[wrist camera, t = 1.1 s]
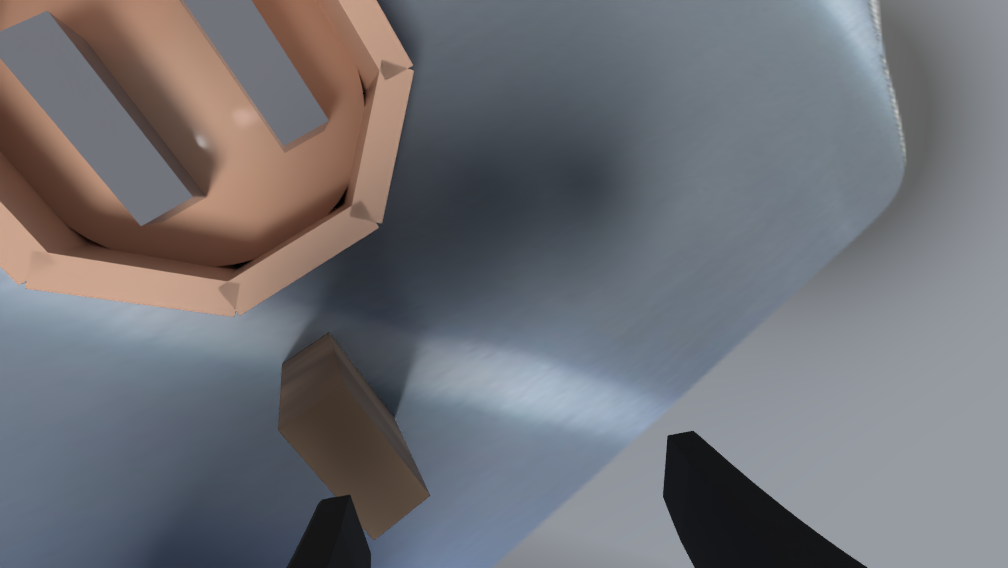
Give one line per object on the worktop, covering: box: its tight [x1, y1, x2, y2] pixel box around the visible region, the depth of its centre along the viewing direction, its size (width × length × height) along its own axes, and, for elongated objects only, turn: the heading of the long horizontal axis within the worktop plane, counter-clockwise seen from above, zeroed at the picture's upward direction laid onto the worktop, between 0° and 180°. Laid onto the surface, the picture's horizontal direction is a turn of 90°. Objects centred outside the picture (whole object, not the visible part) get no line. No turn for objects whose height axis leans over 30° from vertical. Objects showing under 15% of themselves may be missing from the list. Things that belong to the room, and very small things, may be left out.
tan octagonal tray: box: [0, 0, 414, 317], centre depth 15 cm, size 12×12×4 cm
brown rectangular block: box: [278, 333, 430, 540], centre depth 17 cm, size 2×4×6 cm, turn 31°
